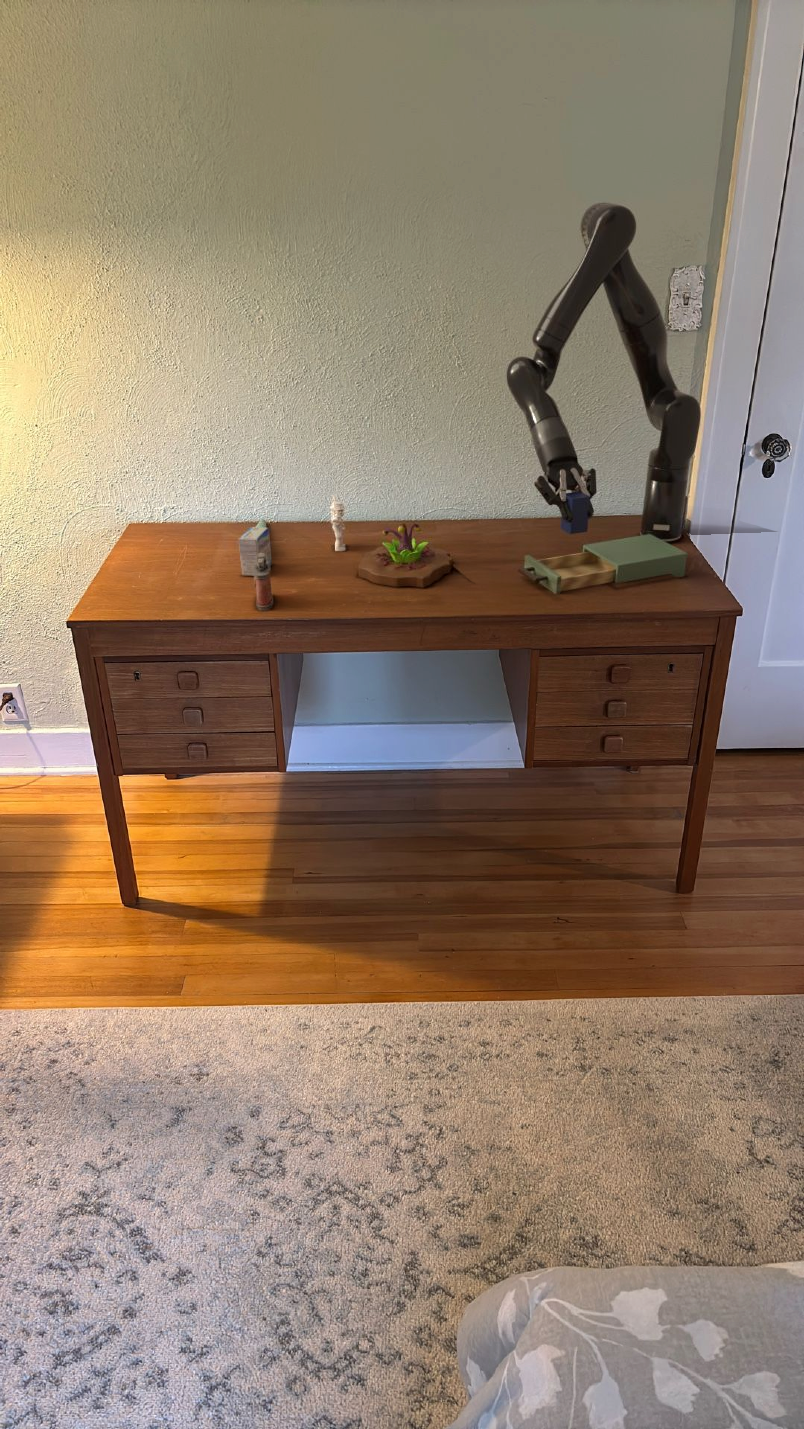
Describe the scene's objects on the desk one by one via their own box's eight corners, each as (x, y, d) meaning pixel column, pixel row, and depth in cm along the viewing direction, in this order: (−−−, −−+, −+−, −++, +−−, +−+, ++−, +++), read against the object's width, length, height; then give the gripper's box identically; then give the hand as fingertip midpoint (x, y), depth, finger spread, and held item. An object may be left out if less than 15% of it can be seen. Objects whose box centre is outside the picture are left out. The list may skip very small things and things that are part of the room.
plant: (345, 581, 210) (342, 530, 204) (378, 551, 226) (377, 503, 220) (433, 592, 204) (433, 540, 198) (461, 560, 220) (462, 512, 214)
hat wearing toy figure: (332, 542, 232) (329, 492, 226) (348, 541, 232) (346, 491, 226) (330, 555, 224) (327, 504, 218) (347, 554, 224) (345, 503, 218)
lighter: (257, 595, 204) (253, 549, 199) (273, 594, 204) (269, 548, 199) (255, 610, 197) (251, 563, 192) (272, 609, 197) (268, 562, 192)
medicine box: (261, 577, 213) (257, 539, 208) (241, 576, 213) (237, 537, 209) (272, 564, 219) (269, 527, 215) (253, 563, 220) (250, 526, 216)
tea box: (570, 534, 200) (572, 499, 196) (560, 528, 203) (562, 493, 199) (587, 531, 201) (590, 496, 197) (577, 525, 204) (579, 491, 201)
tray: (541, 599, 198) (542, 579, 196) (510, 577, 209) (510, 557, 207) (628, 584, 205) (630, 564, 202) (593, 562, 216) (595, 543, 213)
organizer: (615, 588, 204) (618, 565, 201) (581, 567, 215) (583, 544, 212) (684, 576, 209) (687, 553, 207) (647, 556, 220) (650, 533, 218)
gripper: (529, 439, 197) (556, 514, 193) (590, 431, 202) (618, 505, 198) (516, 459, 204) (542, 532, 200) (575, 451, 209) (602, 522, 205)
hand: (579, 518), depth 199 cm, fingers closed on tea box, 4 cm apart
